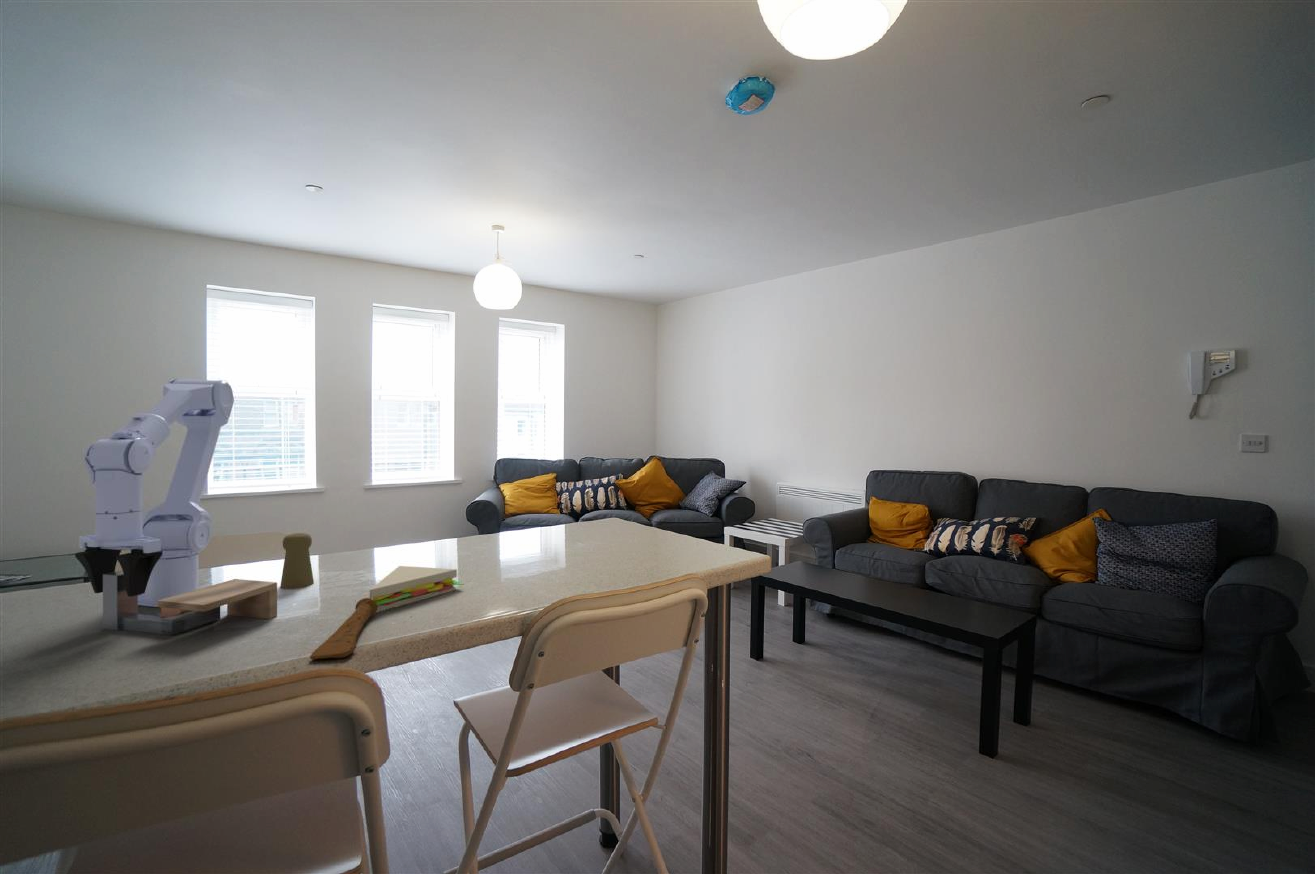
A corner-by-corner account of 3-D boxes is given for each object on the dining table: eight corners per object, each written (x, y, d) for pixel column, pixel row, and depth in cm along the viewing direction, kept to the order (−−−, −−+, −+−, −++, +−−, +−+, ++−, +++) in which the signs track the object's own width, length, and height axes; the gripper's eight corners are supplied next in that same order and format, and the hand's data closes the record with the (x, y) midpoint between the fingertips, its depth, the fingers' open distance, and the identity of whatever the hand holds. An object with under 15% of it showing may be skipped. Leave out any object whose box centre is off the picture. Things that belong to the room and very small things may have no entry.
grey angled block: (103, 629, 92) (102, 574, 92) (158, 612, 100) (158, 562, 100) (168, 636, 89) (168, 580, 89) (220, 618, 98) (220, 567, 97)
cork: (290, 582, 121) (290, 531, 120) (319, 581, 121) (319, 531, 121) (273, 590, 115) (273, 536, 114) (304, 589, 115) (304, 536, 115)
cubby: (157, 638, 88) (157, 600, 88) (235, 612, 101) (235, 578, 101) (203, 643, 87) (203, 605, 86) (277, 616, 99) (277, 582, 99)
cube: (161, 626, 94) (161, 602, 94) (185, 618, 98) (185, 595, 98) (180, 628, 93) (180, 604, 93) (204, 620, 97) (204, 597, 97)
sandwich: (327, 609, 104) (327, 583, 104) (412, 583, 122) (412, 561, 122) (386, 622, 98) (386, 594, 98) (466, 593, 116) (467, 569, 116)
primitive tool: (308, 656, 81) (311, 679, 81) (348, 652, 82) (351, 674, 82) (355, 597, 99) (357, 615, 100) (388, 594, 100) (390, 612, 101)
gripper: (55, 513, 90) (56, 596, 91) (126, 517, 87) (126, 603, 88) (106, 507, 97) (107, 584, 98) (173, 510, 94) (174, 591, 95)
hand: (119, 593), depth 93 cm, fingers open, 6 cm apart
